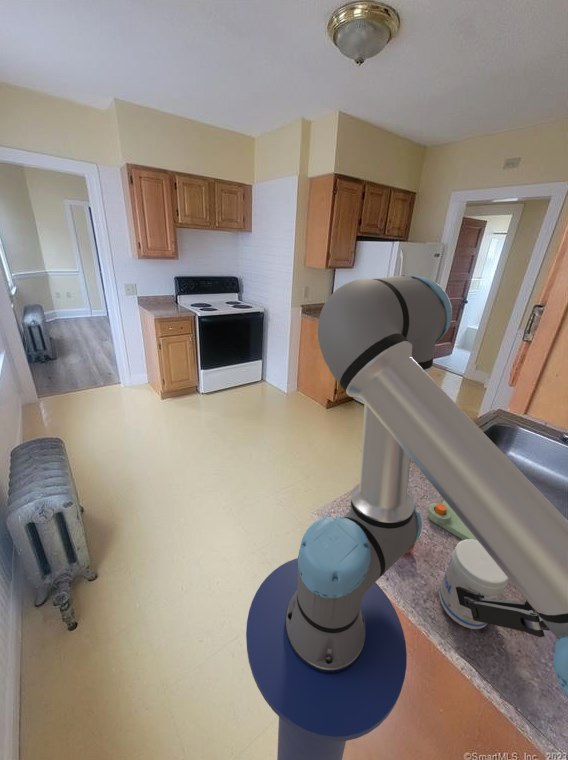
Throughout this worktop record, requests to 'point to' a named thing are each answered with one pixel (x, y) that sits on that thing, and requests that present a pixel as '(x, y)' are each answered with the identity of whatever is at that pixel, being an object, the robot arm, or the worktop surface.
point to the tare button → (440, 509)
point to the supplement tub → (470, 580)
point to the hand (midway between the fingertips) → (492, 590)
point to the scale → (450, 522)
